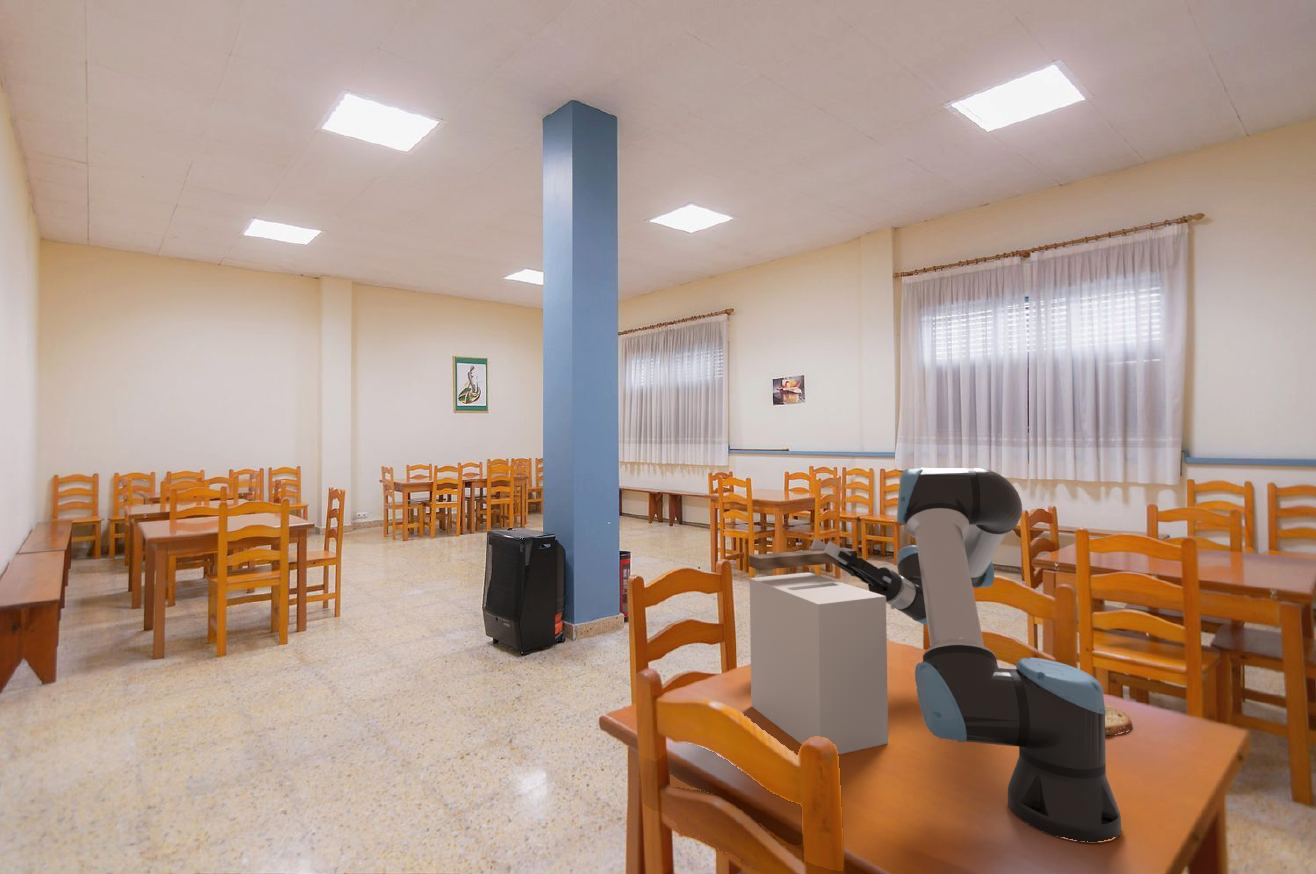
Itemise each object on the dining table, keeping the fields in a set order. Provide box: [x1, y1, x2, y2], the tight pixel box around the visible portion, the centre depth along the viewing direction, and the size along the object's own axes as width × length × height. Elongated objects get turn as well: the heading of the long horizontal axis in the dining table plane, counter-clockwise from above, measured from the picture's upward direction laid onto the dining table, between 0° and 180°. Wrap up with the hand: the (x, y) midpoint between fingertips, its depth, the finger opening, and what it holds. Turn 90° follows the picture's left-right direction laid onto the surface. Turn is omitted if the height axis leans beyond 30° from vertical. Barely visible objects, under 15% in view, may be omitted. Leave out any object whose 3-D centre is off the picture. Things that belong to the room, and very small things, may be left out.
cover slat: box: [748, 547, 858, 571], centre depth 144 cm, size 26×5×2 cm, turn 111°
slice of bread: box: [1104, 704, 1134, 737], centre depth 133 cm, size 18×18×4 cm
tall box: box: [749, 572, 889, 756], centre depth 134 cm, size 16×26×29 cm, turn 21°
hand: (820, 545), depth 146 cm, fingers closed on cover slat, 5 cm apart
